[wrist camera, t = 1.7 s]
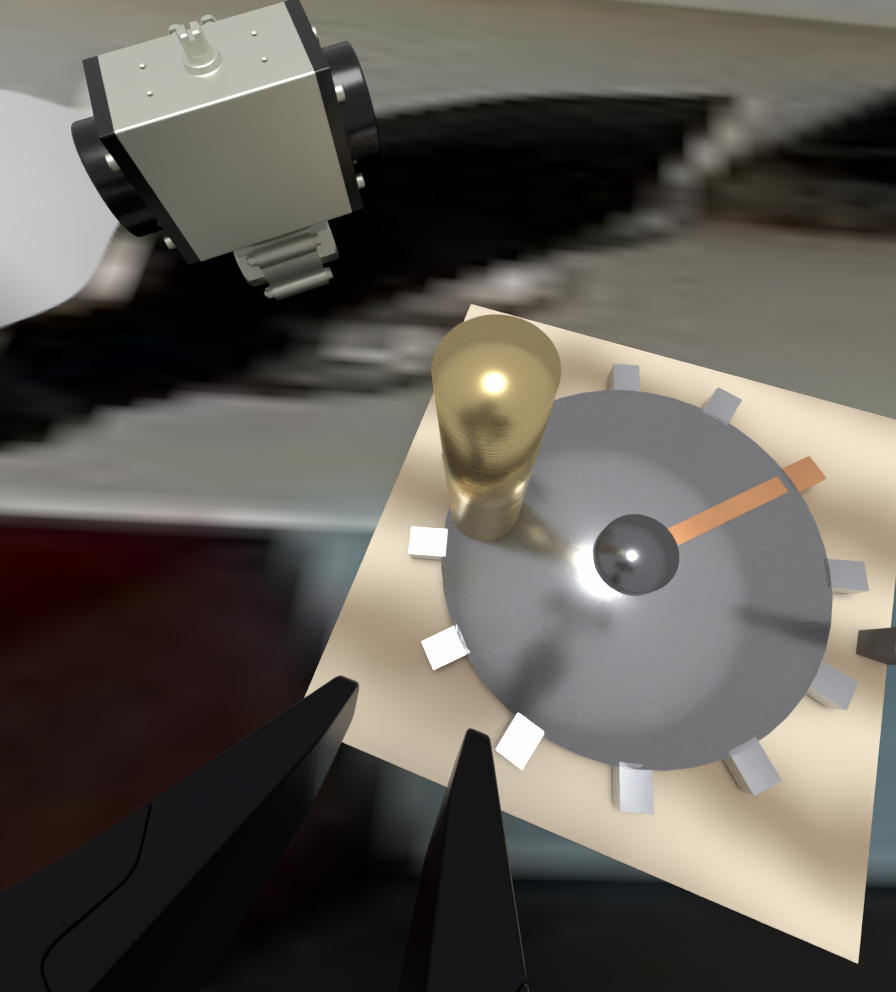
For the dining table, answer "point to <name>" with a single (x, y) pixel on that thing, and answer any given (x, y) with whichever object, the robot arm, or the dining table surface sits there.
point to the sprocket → (624, 566)
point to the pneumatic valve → (233, 142)
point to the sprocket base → (677, 793)
